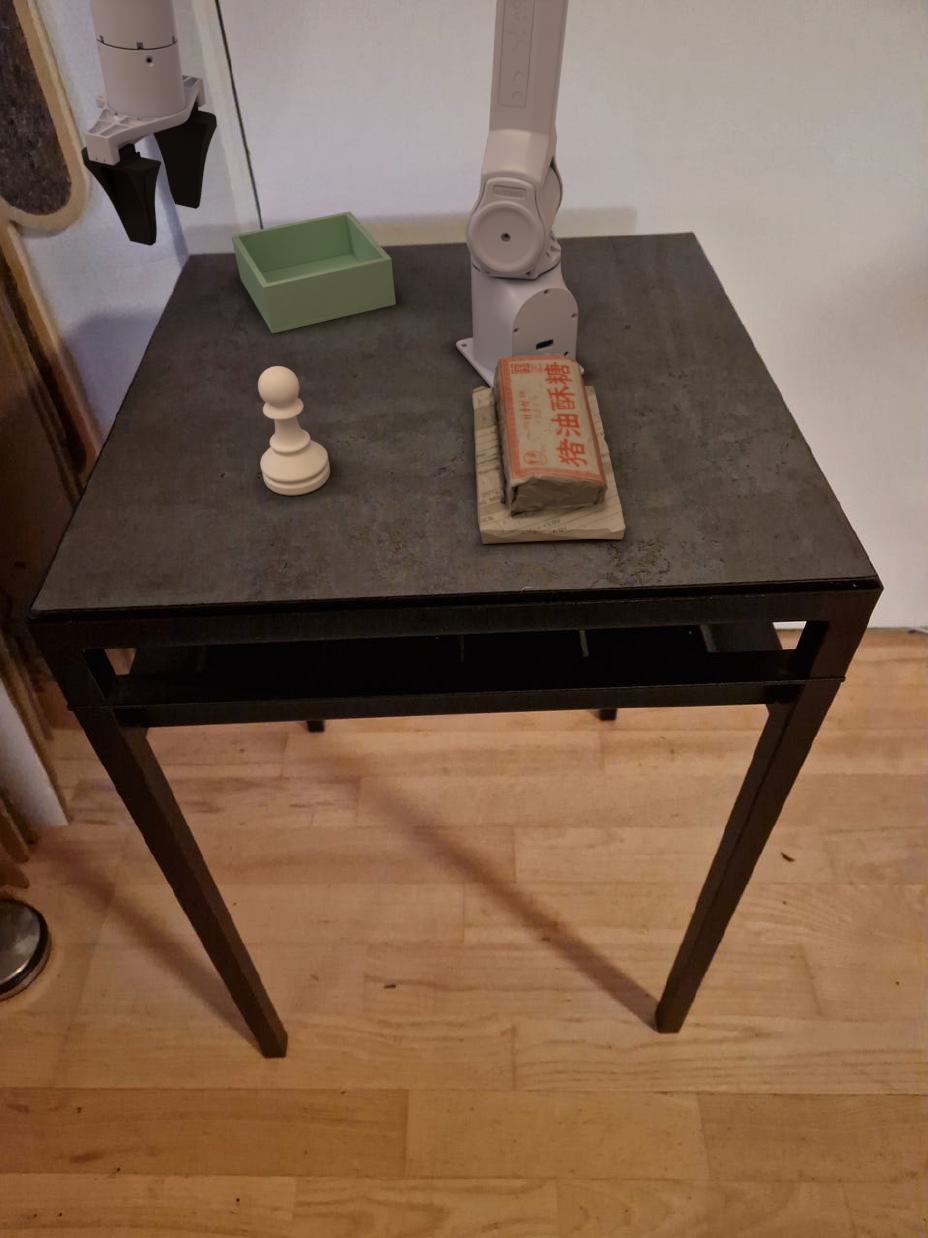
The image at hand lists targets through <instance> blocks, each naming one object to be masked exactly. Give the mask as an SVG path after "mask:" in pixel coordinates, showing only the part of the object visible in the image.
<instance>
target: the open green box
mask: <svg viewBox="0 0 928 1238" xmlns="http://www.w3.org/2000/svg"><path fill="white" fill-rule="evenodd" d="M230 236H231V241H232V245H233V251H234V255H235V258H236V260H235V261H236V265H237V268H238V273H239V277H240V281H241V282H242V284H243V286H244V287H245V289H246V291H247V293H248V294H249V297H250V298H251V300H252V302H253V303H254V304H255V307H256V308H257V310H258V312H259V313H260V315H261V317H262V318H263V320H264V322H265V324H266V325H267V327H268V329H269V331H270V332H271V334H277V333H281V332H285V331H290V330H294V329H298V328H302V327H306V326H311V325H315V324H319V323H324V322H327V321H333V320H336V319H341V318H345V317H349V316H354V315H357V314H361V313H366V312H370V311H374V310H378V309H383V308H387V307H391V306H395V305H396V304H397V302H396V292H395V282H394V272H393V271H394V269H393V261H392V260H393V259H392V257H391V256H390V255H389V254H388V253H387V252H386V251H385V250H384V249H383V247H382V246H381V245H380V244H379V242H378V241H377V240H376V239H375V238H374V237H373V236H372V235H371V234H370V233H369V231H368V230H367V229H366V228H365V227H364V225H363V224H362V223H361V222H360V221H359V220H358V219H357V218H356V216H355V215H354V214H353V213H352V212H351V211H349V210H348V211H345V212H338V213H334V214H329V215H324V216H321V217H320V216H319V217H315V218H314V217H313V218H310V219H309V218H308V219H305V220H300V221H295V222H290V223H285V224H280V225H276V226H275V225H274V226H271V227H265V228H261V229H256V230H252V231H246V232H242V233H237V234H232V235H230Z"/></svg>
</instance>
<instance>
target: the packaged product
mask: <svg viewBox="0 0 928 1238" xmlns="http://www.w3.org/2000/svg"><path fill="white" fill-rule="evenodd" d="M579 365H580V364H579V363H578V361H577V360H576V359H575V360H574V359H570V358H568V357H564V356H563V355H560V354H553V355H540V356H535V355H532V356H528V355H523V356H515V357H501V358H498V362H497V366H496V367H495V370H496V372H495V375H494V381H493V385H494V387H493V388H491V387H486V386H483V385H481V386H479V387H476V388H474V389H472V407H473V432H474V433H473V435H474V443H475V480H476V481H475V482H476V503H477V504H476V506H477V507H476V508H477V524H478V527H479V532H480V537H481V542H482V544H483V545H484V544H485V545H486V544H504V543H505V544H506V543H523V542H540V541H541V542H543V541H566V540H587V539H588V540H589V539H591V540H592V539H599V540H600V539H602V540H623V538H624V535H625V532H626V529H627V527H626V525H625V519H624V516H623V508H622V504H621V500H620V497H619V493H618V488H617V484H616V479H615V475H614V474H615V473H614V470H613V465H612V461H611V457H610V450H609V447H608V443H607V441H606V439H605V431H604V428H603V421H602V417H601V415H600V409H599V404H598V400H597V395H596V390H595V388H594V385H587V386H586V385H585V381H584V379H583V375H582V374H581V369H580V367H579Z"/></svg>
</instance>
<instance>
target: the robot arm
mask: <svg viewBox="0 0 928 1238" xmlns="http://www.w3.org/2000/svg"><path fill="white" fill-rule="evenodd" d="M88 3H89V8H90V13H91V14H90V15H91V18H92V23H93V29H94V30H93V31H94V34H95V35H94V36H95V39H96V46H97V50H98V55H99V61H100V67H101V73H102V78H103V84H104V88H105V91H103V92H101V93H99V94H98V95H96V96H95V104H96V106H97V108H99V109H101V110H100V112H99V114H98V116H97V117H96V119H95V121H94V123H93V124H92V125H91V127H90V128H88V129H86V130H85V131H84V132H83V136H84V142H85V145H86V146H84V147H83V148H82V149H81V150H80V154H81V159H82V162H83V165H84V167H85V168H86V169H87V170H88V171H89V172H90V173H91V175H92V176H93V178H95V179H96V181H97V182H98V183H99V185H100V186H101V188H102V189H103V190H104V192H105V194H106V195H107V197H108V199H109V201H110V202H111V204H112V206H113V208H114V210H115V212H116V214H117V216H118V219H119V220H120V222H121V225H122V227H123V229H124V231H125V233H126V235H127V238H128V240H129V241H130V242H133V243H137V244H140V245H146V246H149V247H150V246H153V245H155V244H156V243H157V238H158V237H157V235H158V226H157V214H156V190H157V181H158V177H159V172H160V169H161V166H162V163H163V166H164V170H165V174H166V178H167V179H166V180H167V183H168V187H169V192H170V195H171V198H172V200H173V203H174V205H177V206H181V207H186V208H190V209H194V210H197V209H198V208H199V207H200V205H201V202H202V201H201V199H202V191H203V181H204V174H205V166H206V161H207V156H208V152H209V149H210V145H211V141H212V139H213V136H214V134H215V132H216V129H217V128H218V122H217V121H218V120H217V116H216V115H215V114H214V113H213V112H209V111H204V110H199V109H200V108H201V107H203V106H205V105H206V102H207V101H206V93H205V85H204V79H203V78H201V77H197V76H193V75H187V74H183V71H182V63H181V55H180V46H179V40H178V32H177V24H176V17H175V8H174V7H175V6H174V0H88ZM495 4H496V7H495V21H494V22H495V23H494V38H493V53H492V54H493V57H492V71H491V72H492V73H491V75H492V76H491V87H490V104H489V105H490V106H489V123H488V134H487V140H486V145H485V150H484V155H483V160H482V166H481V172H480V184H479V193H478V196H477V199H476V201H475V203H474V204H473V206H472V207H471V209H470V211H469V213H468V215H467V217H466V220H465V225H464V235H465V237H464V238H465V243H466V246H467V249H468V251H469V254H470V284H471V285H470V286H471V319H472V337H471V336H470V337H467V338H463V339H460V340H457V342H456V344H455V347H456V348H457V350H458V351H459V352H460V353H461V354H462V356H463V357H464V358H465V359H466V360H467V361H468V363H469V364H470V365H471V366H472V367H473V368H474V370H476V372H477V373H478V374H479V375H480V376H481V378H482V379H483V380H484V381H485V383H486V384H487V386H489V388H493V387H494V385H493V381H494V375H495V372H496V370H495V367H496V366H497V362H498V358H501V357H515V356H523V355H528V356H532V355H535V356H540V355H553V354H560V355H563V356H564V357H568V358H570V359H574V360H575V361H576V355H577V341H578V327H579V326H578V325H579V307H578V303H577V301H576V298H575V297H574V294H572V292H571V291H570V290H569V288H568V287H567V285H566V283H565V280H564V278H563V274H562V266H561V265H562V263H561V262H562V261H561V258H562V247H561V244H559V242H558V239H557V237H556V235H555V233H554V231H553V230H552V228H553V225H554V221H555V218H556V215H557V214H558V211H559V209H560V207H561V205H562V202H563V196H564V184H563V180H562V176H561V173H560V171H559V168H558V164H557V159H556V158H557V156H556V155H557V153H556V152H557V144H558V143H557V142H558V134H557V127H556V121H557V113H558V104H559V103H558V102H559V95H560V94H559V92H560V83H561V75H562V66H563V57H564V56H563V55H564V48H565V40H566V39H565V38H566V28H567V21H568V20H567V19H568V10H569V0H496V3H495ZM149 135H153V137H154V139H155V141H156V145H157V147H158V150H159V152H160V155H161V158H162V162H161V160H157V159H154V158H153V159H152V158H148V157H144V156H142V154H141V152H140V151H139V150H138V151H137V150H136V149H137V148H136V144H137V143H139V142H141V141H142V140H144V139H145V138H147V137H148V136H149ZM579 367H580V369H581V374H582V376H583V375H584V373H585V369H584V367H583V366H582V365H580V364H579Z"/></svg>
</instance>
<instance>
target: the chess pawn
mask: <svg viewBox="0 0 928 1238" xmlns="http://www.w3.org/2000/svg"><path fill="white" fill-rule="evenodd" d="M300 388H301V387H300V381H299V379H298V377H297V376H296V374H295V373H294V371H293V370H291V369H289V368H288V367H285V366H280V365H275V366H271V367H268V368H267V369H265V370H264V371H263V372H262V373H261V374H260V376H259V378H258V382H257V389H258V390H257V391H258V393H259V396H260V398H261V399H262V401H264V402H265V403H264V405H263V406H262V413H263V415H264V416H265V417H267V418H268V419H271V420H274V421H273V422H274V433H273V434H272V436H271V437H270V439H269V446H270V447H268V448H267V450H265V452H264V453H263V454H262V456H261V458H260V462H259V464H260V470H261V473H262V479H263V482H264V484H265V485H266V488H268V489H269V490H271V491H272V492H274V493H276V494H278V495H283V496H301V495H306V494H308V493H311V492H314V491H317V490H318V489H320V488H321V487H322V486H323V485H324V484H326V482H327V481H328V479H329V478H330V474H331V468H330V461H329V455H328V451H327V450H326V448H325V447H324V445H323V446H322V444H320V443H319V442H317V441H314V440H313V439H311V435H310V434H309V432H308V431H307V430H305V429H303V428H301V425H300V423H299V420H298V417H297V416H298V415H300V414H301V412H302V411H303V410H304V407H305V406H304V402H303V401H302V400H301V398H299V394H300Z"/></svg>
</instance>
